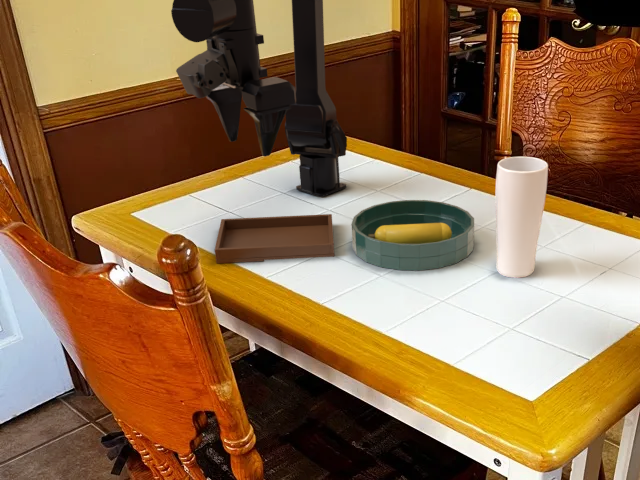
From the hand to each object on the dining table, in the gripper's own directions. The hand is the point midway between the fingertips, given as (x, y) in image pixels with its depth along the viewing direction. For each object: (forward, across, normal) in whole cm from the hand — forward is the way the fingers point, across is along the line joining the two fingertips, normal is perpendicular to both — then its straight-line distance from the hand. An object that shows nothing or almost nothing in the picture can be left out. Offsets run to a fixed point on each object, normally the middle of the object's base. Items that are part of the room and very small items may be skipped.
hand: (249, 148), depth 121 cm
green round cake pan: (+14, +17, +16) cm, 27 cm away
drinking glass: (+14, +34, +21) cm, 42 cm away
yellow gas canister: (+14, +17, +16) cm, 27 cm away
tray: (+14, +3, +1) cm, 14 cm away
